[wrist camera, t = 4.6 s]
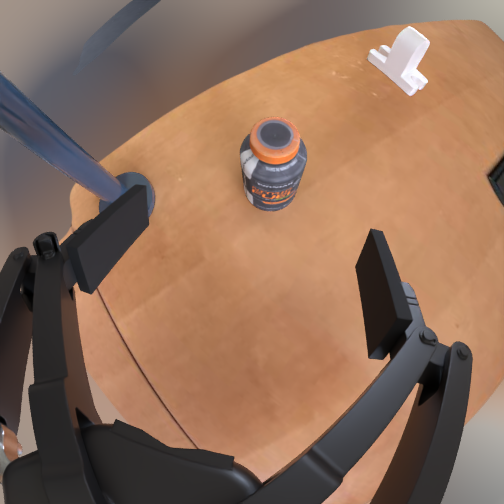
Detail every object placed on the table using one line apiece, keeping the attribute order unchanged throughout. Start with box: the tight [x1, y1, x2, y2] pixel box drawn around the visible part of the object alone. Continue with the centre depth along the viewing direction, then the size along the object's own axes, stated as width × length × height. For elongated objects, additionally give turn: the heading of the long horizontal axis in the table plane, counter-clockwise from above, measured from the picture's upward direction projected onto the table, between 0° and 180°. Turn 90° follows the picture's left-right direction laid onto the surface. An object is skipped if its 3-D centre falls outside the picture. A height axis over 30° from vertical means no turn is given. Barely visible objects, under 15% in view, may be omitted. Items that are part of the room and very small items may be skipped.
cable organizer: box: [367, 27, 430, 96], centre depth 30 cm, size 5×10×10 cm, turn 38°
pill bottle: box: [240, 117, 307, 211], centre depth 26 cm, size 6×6×11 cm
